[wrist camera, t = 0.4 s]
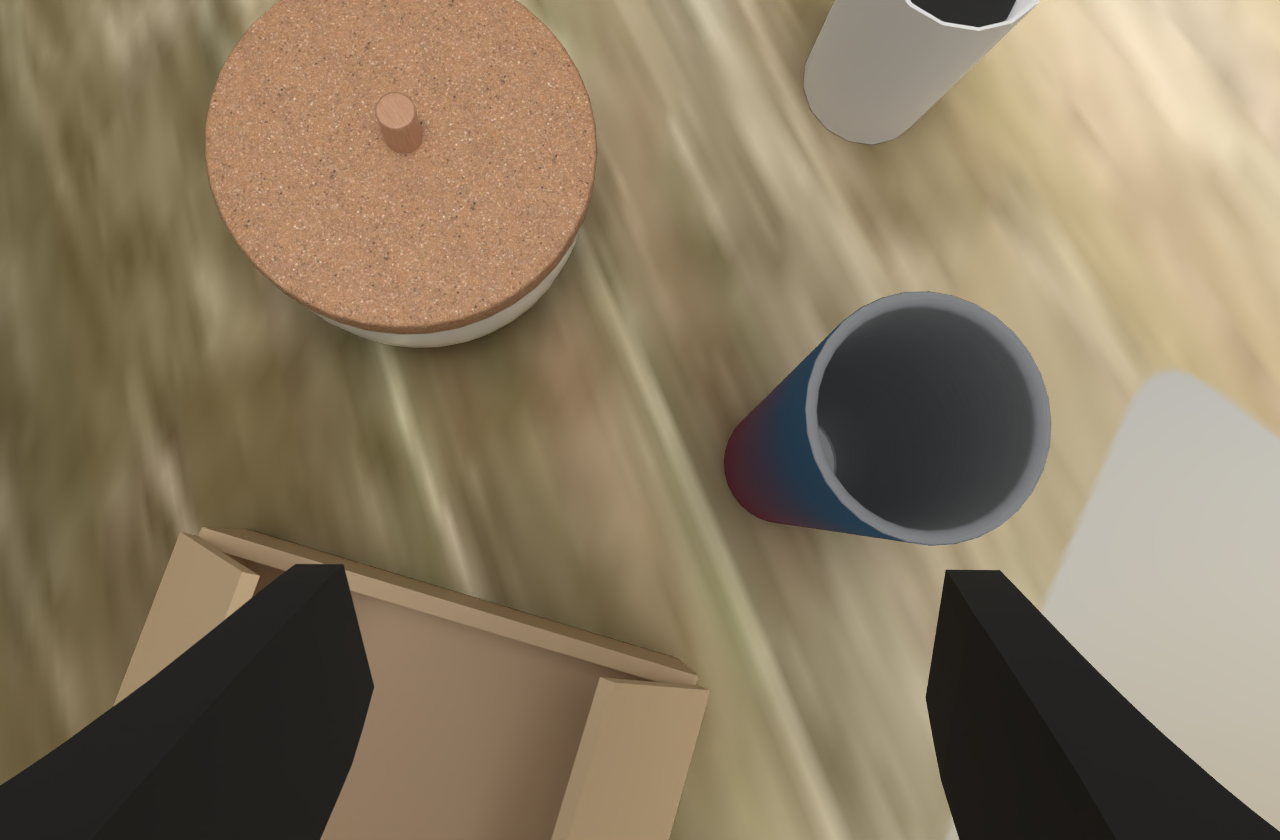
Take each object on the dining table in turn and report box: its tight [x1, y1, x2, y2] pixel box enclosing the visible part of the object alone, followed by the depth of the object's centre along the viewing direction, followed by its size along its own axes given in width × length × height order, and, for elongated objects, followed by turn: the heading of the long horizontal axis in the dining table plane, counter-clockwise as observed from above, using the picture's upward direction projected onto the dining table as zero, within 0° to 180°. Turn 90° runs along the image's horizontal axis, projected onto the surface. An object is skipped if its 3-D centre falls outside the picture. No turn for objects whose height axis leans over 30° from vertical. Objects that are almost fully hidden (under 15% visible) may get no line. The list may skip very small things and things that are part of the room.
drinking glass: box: [803, 0, 1039, 145], centre depth 37 cm, size 7×7×10 cm
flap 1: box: [114, 532, 260, 706], centre depth 27 cm, size 13×7×1 cm
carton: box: [199, 527, 699, 840], centre depth 33 cm, size 14×18×5 cm
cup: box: [724, 291, 1051, 545], centre depth 31 cm, size 7×7×15 cm
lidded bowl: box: [205, 0, 597, 348], centre depth 33 cm, size 13×13×11 cm
